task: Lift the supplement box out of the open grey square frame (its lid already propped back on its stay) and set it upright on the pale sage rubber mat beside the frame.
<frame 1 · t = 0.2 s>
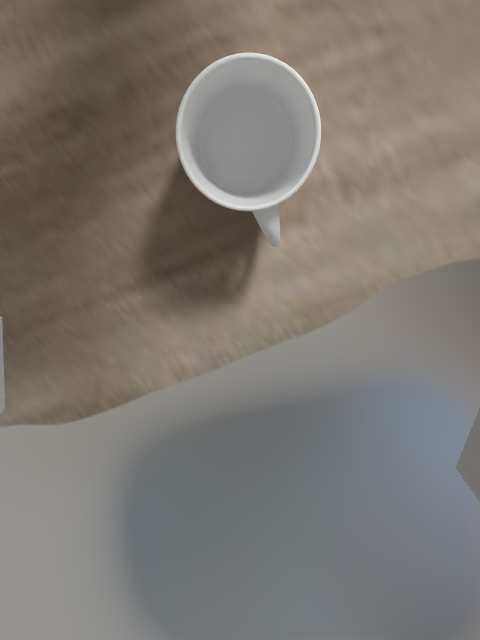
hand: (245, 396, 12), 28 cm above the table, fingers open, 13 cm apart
mug: (250, 165, 36), on the table
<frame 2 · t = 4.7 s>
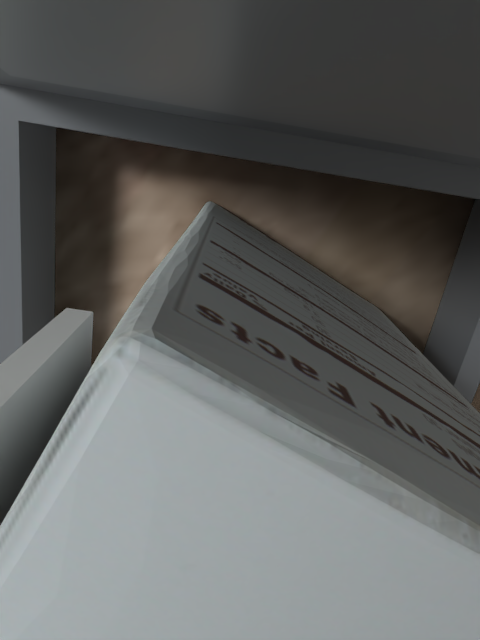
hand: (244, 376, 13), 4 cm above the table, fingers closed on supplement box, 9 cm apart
grey square frame: (242, 331, 16), on the table
supplement box: (243, 329, 16), resting in grey square frame, touching gripper
when the fingers open (5 cm above the table, at t = 10.9 s): supplement box drops 1 cm, resting on mat.
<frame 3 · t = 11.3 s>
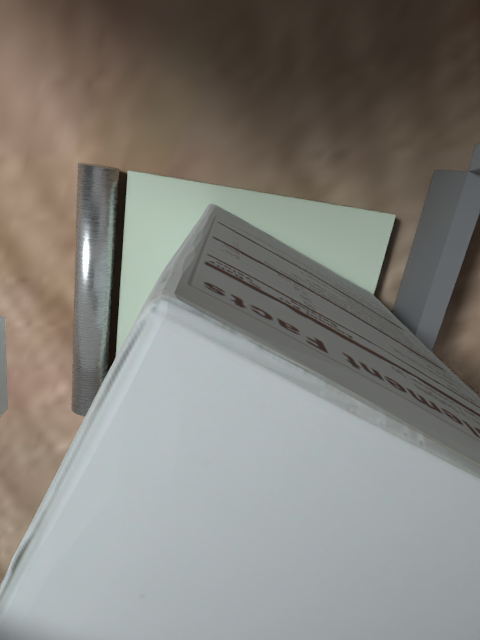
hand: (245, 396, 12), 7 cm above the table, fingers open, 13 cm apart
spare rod: (98, 293, 18), on the table
mat: (242, 314, 18), on the table
supplement box: (248, 320, 18), resting on mat
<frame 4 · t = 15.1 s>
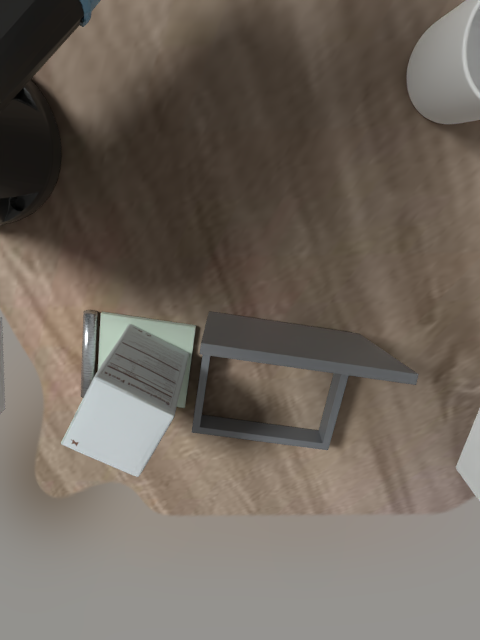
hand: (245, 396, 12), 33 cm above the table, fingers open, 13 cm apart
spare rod: (91, 352, 47), on the table
lid: (294, 342, 37), point 9 cm above the table, hinge at 100.0°
mat: (145, 360, 47), on the table
grey square frame: (269, 377, 48), on the table
mug: (470, 67, 38), on the table
supplement box: (147, 362, 47), resting on mat
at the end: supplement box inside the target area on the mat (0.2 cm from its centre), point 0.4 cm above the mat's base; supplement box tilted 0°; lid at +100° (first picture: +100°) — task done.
